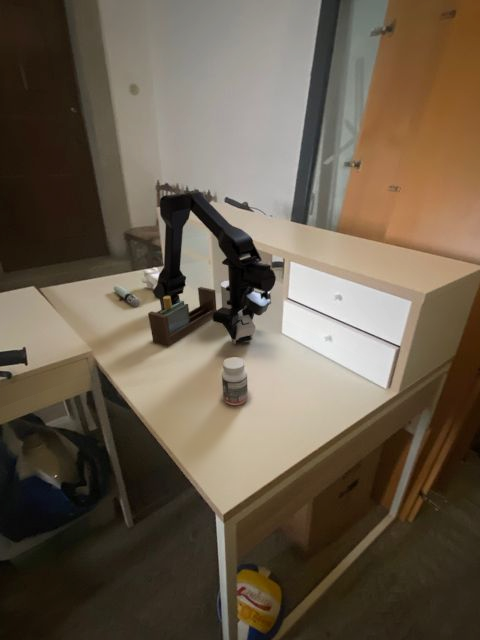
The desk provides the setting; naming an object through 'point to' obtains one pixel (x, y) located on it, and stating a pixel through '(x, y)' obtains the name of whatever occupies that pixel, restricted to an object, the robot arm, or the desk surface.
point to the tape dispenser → (244, 329)
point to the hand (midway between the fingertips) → (241, 333)
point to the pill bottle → (234, 381)
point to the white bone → (151, 277)
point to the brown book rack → (182, 319)
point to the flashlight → (126, 296)
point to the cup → (226, 296)
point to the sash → (170, 305)
